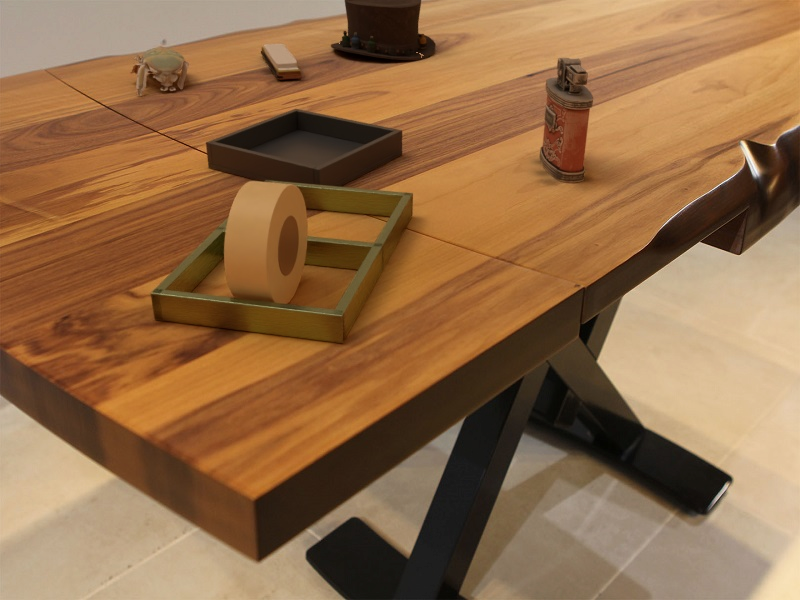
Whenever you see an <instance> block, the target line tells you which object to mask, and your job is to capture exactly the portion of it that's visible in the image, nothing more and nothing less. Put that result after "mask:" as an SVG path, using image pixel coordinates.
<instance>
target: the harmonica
mask: <svg viewBox="0 0 800 600" xmlns="http://www.w3.org/2000/svg"><path fill="white" fill-rule="evenodd" d="M260 54H261V56H262V57H263V59H264V61H265V63H266V64H267V66H268V68H269V69H270V71H271V72H272V74H273V75H274V76H275V77H276V79H277V80H279V81H280V80H281V81H282V80H297V79H298V80H299V79H302V70H301V69H300V68H299V66H298V61H297V59H296V57H295V56H294V55H293V54H292V52H291V51H290V50H289V49H288V47H287V46H286V45H285V44H284V43H265V44H263V46H261V50H260Z"/></svg>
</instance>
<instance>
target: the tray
mask: <svg viewBox="0 0 800 600" xmlns="http://www.w3.org/2000/svg"><path fill="white" fill-rule="evenodd" d="M205 147H206V157H207V167H208V169H212V170H216V171H219V172H223V173H227V174H231V175H235V176H238V177H243V178H246V179H250V180H253V181H260V182H264V181H265V180H271V181H281V182H292V183H304V184H315V185H326V186H337V187H343V186H344V185H346V184H348V183H350V182H352V181H354V180H356V179H358V178H360V177H362V176H363V175H366V174H368V173H370V172H371V171H373V170H376V169H378V168H380V167H381V166H383V165H386V164H387V163H389V162H391V161H393V160H395V159H397V158H399V157H401V156H402V155H403V130H402V129H397V128H393V127H387V126H383V125H378V124H372V123H367V122H363V121H358V120H353V119H348V118H343V117H339V116H333V115H328V114H323V113H319V112H315V111H310V110H303V109H300V108H293V109H290V110H288V111H286V112H283V113H281V114H278V115H275V116H273V117H270V118H267V119H265V120H262V121H259V122H256V123H254V124H251V125H248V126H245V127H243V128H241V129H238V130H235V131H232V132H230V133H227V134H225V135H222V136H219V137H216V138H214V139H211V140H208V141H206V142H205Z"/></svg>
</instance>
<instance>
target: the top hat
mask: <svg viewBox="0 0 800 600" xmlns="http://www.w3.org/2000/svg"><path fill="white" fill-rule="evenodd" d="M344 6H345V15H346V20H347V30H343V32H342V34H343V35H342V36H341V40H340V41H339V42H335V43H332V44H330V48H332V49H334V50H338V51H342V52H346V53H350V54H356V55H360V56H361V55H362V56H367V57H373V58H381V59H388V60H397V61H419V60H420V61H421V60H424V59H427V58H429V57H431V56H432V55H433V54H434V53H435V51H436V43H435V40H434V39H432V38H431V37H430V36H427V35H426V34H424V33H419V22H420V21H419V20H420V13H421V6H422V0H344ZM339 43H340V44H339ZM416 52H418V53H416ZM419 53H421V54H423V55H424V56H422V58H421V55H420V54H419Z"/></svg>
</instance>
